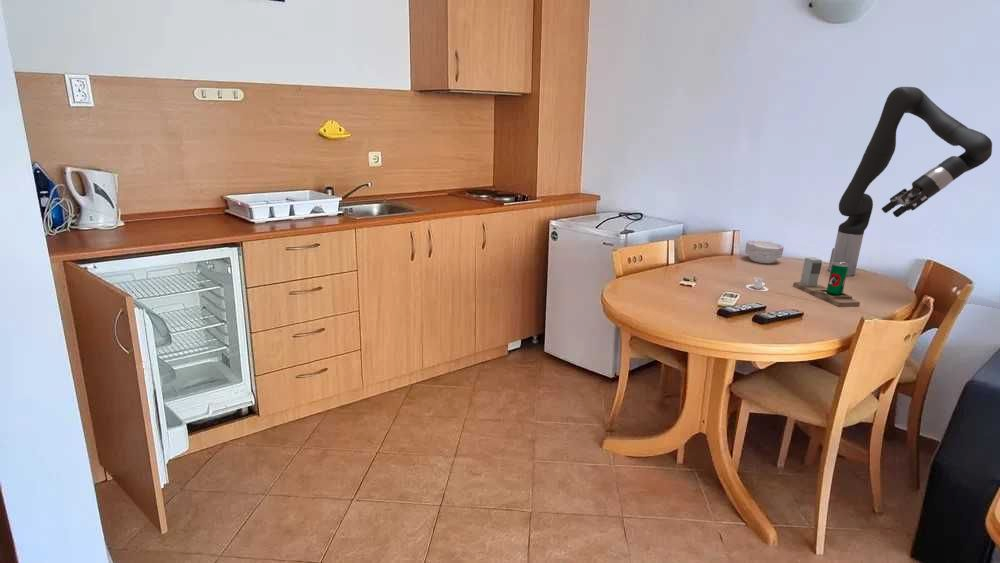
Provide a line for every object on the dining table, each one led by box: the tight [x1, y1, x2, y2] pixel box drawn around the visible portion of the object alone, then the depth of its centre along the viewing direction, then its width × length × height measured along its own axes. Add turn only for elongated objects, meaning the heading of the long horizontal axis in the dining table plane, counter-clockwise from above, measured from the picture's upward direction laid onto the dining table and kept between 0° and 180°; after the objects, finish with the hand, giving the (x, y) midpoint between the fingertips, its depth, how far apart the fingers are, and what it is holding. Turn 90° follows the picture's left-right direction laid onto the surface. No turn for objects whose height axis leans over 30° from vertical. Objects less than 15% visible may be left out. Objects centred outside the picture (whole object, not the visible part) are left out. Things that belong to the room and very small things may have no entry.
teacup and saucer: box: [745, 277, 769, 292], centre depth 222 cm, size 9×8×4 cm
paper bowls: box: [744, 239, 784, 264], centre depth 263 cm, size 15×15×8 cm
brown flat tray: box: [792, 281, 861, 308], centre depth 216 cm, size 24×8×2 cm, turn 11°
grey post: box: [799, 256, 823, 286], centre depth 223 cm, size 5×4×10 cm
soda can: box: [826, 261, 848, 296], centre depth 210 cm, size 5×5×12 cm
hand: (888, 213), depth 210 cm, fingers open, 8 cm apart
